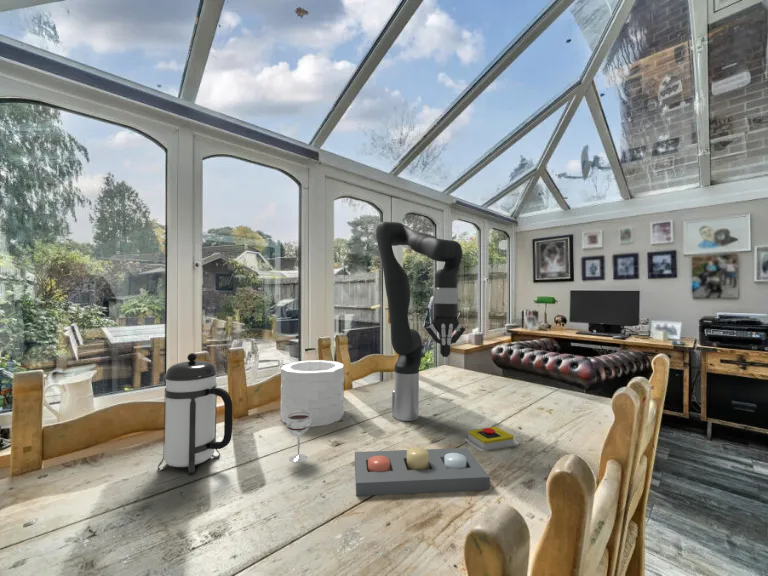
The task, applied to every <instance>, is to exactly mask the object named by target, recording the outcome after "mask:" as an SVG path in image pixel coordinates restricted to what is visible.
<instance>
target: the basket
mask: <svg viewBox="0 0 768 576" xmlns="http://www.w3.org/2000/svg"><path fill="white" fill-rule="evenodd" d="M344 365H345V364H344V363H342V362H339V361H334V360H333V361H332V360H324V359H318V360H317V359H315V360H301V361H293V362H290V363H285V364H283V366H281V368H280V379H281V380H280V382H281V383H280V384H281V385H280V408H279V409H280V419H281V418H282V419H281V421H283V422H282V423H284V422H285V423H284V424H287V420H288V418H287V415H289V414H291V413H294V412H308V413H310V414H311V416H310V419H311V425H310V428H312V427H319V426H327V425H330V423H331V424H332V423H335V421H336V422H337V421H340V420H341V419H342V417H343V416H344V414H345V412H344V411H345V408H344V401H343V400H344V399H345V390H344V383H345V373H344V369H345V368H344V367H345V366H344Z"/></svg>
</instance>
